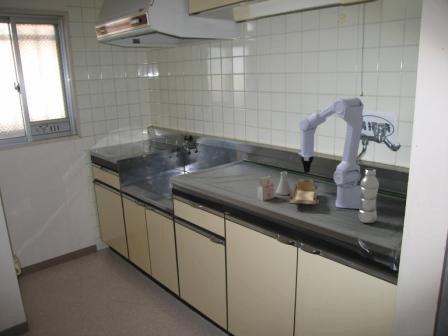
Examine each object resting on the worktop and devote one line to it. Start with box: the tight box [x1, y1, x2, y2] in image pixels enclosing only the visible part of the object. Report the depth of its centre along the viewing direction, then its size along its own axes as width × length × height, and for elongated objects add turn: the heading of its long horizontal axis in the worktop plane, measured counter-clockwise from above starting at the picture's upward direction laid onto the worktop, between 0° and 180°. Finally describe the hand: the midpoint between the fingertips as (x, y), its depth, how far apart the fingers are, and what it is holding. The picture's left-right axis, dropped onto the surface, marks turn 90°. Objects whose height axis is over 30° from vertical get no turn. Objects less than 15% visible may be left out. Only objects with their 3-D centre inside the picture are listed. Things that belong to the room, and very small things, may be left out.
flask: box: [275, 171, 292, 196], centre depth 175 cm, size 7×7×10 cm
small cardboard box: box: [289, 183, 318, 205], centre depth 163 cm, size 10×22×3 cm, turn 165°
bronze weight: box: [297, 178, 314, 191], centre depth 169 cm, size 6×6×4 cm
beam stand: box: [289, 198, 320, 206], centre depth 163 cm, size 12×6×2 cm, turn 75°
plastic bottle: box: [357, 167, 380, 224], centre depth 138 cm, size 6×7×20 cm
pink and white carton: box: [256, 175, 275, 202], centre depth 169 cm, size 4×7×10 cm, turn 125°
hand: (306, 172), depth 177 cm, fingers closed
